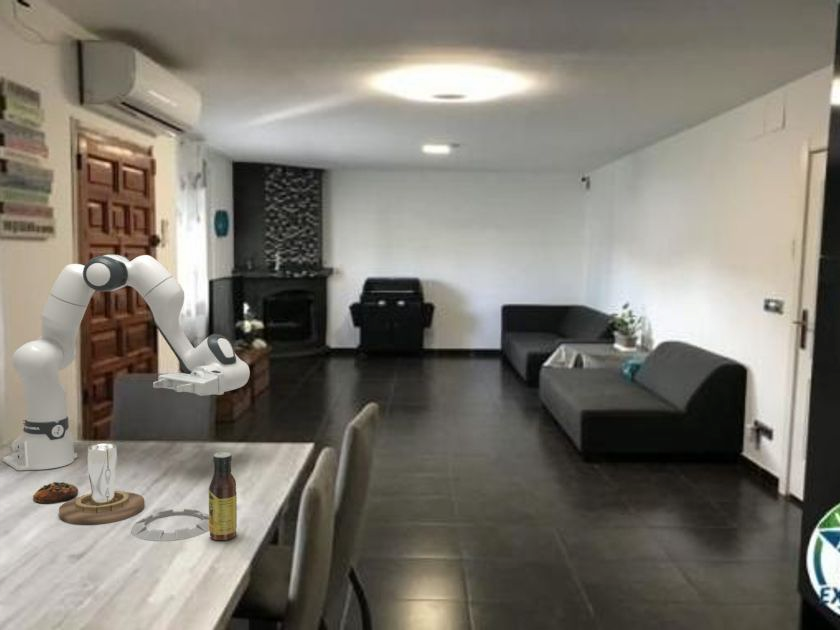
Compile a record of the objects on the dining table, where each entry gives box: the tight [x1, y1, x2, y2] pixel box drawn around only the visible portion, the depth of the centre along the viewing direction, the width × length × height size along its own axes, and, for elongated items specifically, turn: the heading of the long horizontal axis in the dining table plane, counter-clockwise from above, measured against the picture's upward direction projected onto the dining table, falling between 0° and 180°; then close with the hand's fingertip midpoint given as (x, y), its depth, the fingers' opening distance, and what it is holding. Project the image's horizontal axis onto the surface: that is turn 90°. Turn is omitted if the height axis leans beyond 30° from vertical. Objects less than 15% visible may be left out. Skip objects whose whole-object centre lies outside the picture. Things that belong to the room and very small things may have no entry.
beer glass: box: [86, 443, 118, 506], centre depth 182 cm, size 7×7×15 cm
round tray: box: [58, 490, 146, 526], centre depth 182 cm, size 20×20×3 cm
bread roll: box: [32, 481, 79, 504], centre depth 192 cm, size 11×11×5 cm
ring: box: [130, 508, 210, 542], centre depth 173 cm, size 19×19×2 cm
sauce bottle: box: [208, 451, 238, 541], centre depth 166 cm, size 6×6×20 cm
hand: (165, 387), depth 202 cm, fingers open, 8 cm apart
